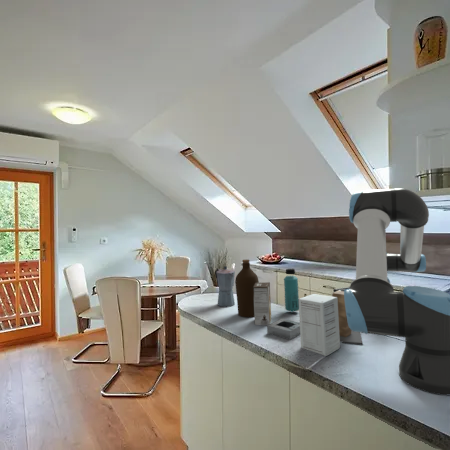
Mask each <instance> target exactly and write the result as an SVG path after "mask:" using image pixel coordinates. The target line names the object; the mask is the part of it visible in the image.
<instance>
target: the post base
mask: <svg viewBox="0 0 450 450" xmlns="http://www.w3.org/2000/svg"><path fill="white" fill-rule="evenodd" d="M266 332H267V334H268V335H271V336H275V337H279V338H283V339H286V340H290V341H291V340H292V339H294V338H296V337H297V336H299V335H300V321H294V320H291V319H290V320H289V319H287V318H280V319H278V320H276V321H274V322H272V323H270V324H269V325H266Z"/></svg>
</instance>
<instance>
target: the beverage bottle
mask: <svg viewBox="0 0 450 450" xmlns="http://www.w3.org/2000/svg"><path fill="white" fill-rule="evenodd" d="M285 274H286V276H285V277H283V282H284V283H283V284H284V285H283V286H284V287H283V288H284V305H285V306H284V307H285V311H287V312H299V299H300V298H299V283H298V281H299V280H298V279H299V278H298V277H297V276H295V274H296V271H295V268H286V269H285Z"/></svg>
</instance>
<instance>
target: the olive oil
mask: <svg viewBox="0 0 450 450" xmlns="http://www.w3.org/2000/svg"><path fill="white" fill-rule="evenodd" d="M241 265H242V268H241V270H240V271H239V272H238V273H237V274H236V277H235V279H234V284H235V293H236V303H237V314H238V316H239V317H241V318H253V317H254V318H255V316H254V295H253V287H254V285H255V283H260V281H259V278H258V275H257V274H256V272H255V271H253V270H252V268H251V267H250V266H251V263H250V259H242V263H241Z"/></svg>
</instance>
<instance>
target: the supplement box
mask: <svg viewBox="0 0 450 450" xmlns="http://www.w3.org/2000/svg"><path fill="white" fill-rule="evenodd" d="M298 315H299V317H298V318H299V322H300V336H299V337H300V348H301V349H304V350H306V351H309V352H312V353H316V354H319V355H322V356H323V357H328V356H329V355H331V354H332V353H334V352H336V351H337V350H340V349H341V342H340V335H339V317H338V299H337V297H332V295H324V294H318V293H312V294H308V295H305V296H304V297H303V296H302V297H300V298H299V310H298Z"/></svg>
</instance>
